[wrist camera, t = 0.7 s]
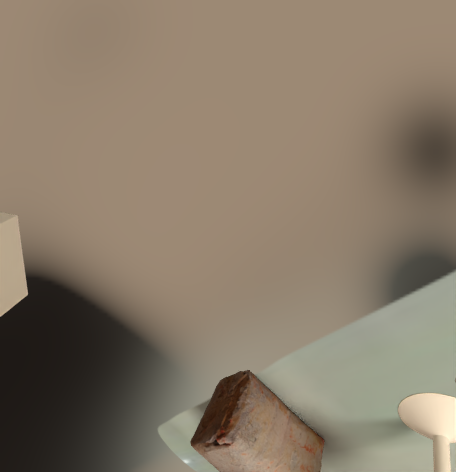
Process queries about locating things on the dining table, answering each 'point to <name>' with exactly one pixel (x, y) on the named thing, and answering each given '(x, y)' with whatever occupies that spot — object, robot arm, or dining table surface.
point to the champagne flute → (432, 423)
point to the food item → (254, 431)
